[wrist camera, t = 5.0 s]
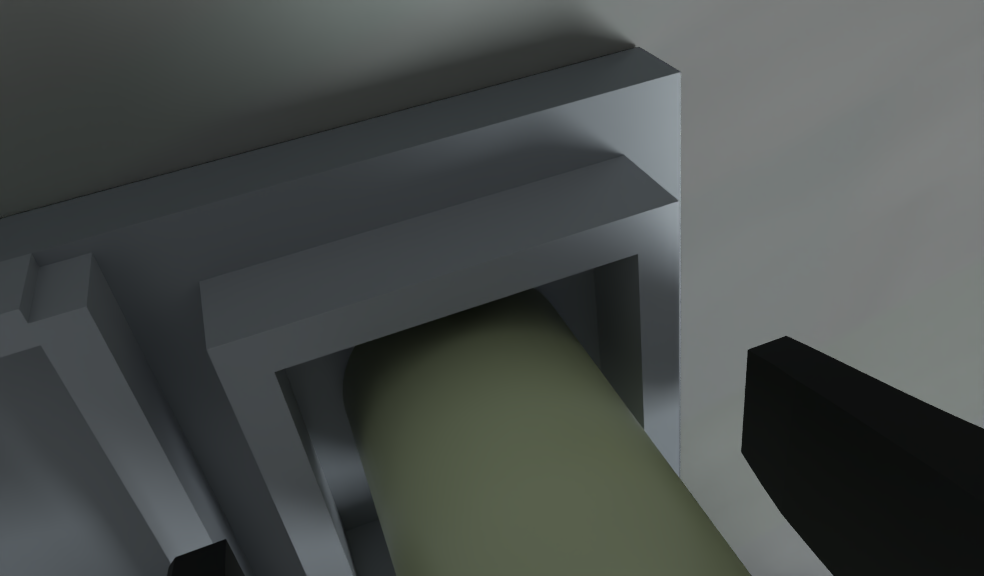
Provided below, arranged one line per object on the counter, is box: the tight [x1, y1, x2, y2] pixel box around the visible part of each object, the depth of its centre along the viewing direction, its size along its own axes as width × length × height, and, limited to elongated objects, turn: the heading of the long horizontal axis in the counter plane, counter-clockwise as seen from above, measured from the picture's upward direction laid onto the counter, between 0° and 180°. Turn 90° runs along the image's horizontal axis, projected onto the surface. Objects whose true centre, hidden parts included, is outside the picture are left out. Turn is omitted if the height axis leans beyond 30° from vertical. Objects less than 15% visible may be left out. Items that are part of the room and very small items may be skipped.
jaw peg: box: [343, 288, 751, 576], centre depth 11 cm, size 4×4×6 cm
